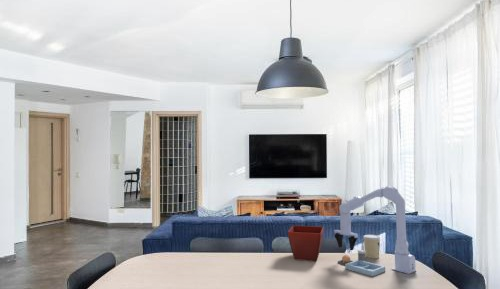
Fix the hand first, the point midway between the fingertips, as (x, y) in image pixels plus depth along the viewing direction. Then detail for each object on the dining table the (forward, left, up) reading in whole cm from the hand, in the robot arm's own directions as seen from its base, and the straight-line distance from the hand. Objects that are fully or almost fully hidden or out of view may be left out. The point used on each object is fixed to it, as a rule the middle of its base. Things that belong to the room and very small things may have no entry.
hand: (345, 248), depth 195 cm
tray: (-14, +2, -8) cm, 16 cm away
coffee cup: (-2, -23, -8) cm, 24 cm away
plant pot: (+22, +9, -8) cm, 25 cm away
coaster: (0, 0, -8) cm, 8 cm away
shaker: (-5, -8, -8) cm, 12 cm away
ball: (0, 0, -6) cm, 6 cm away
